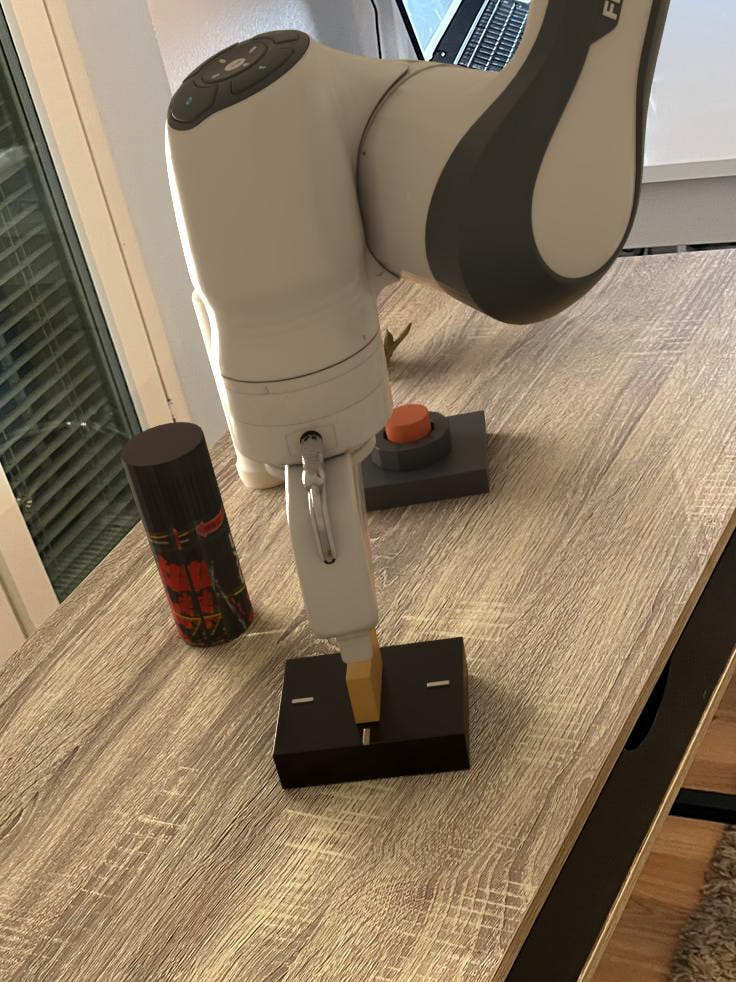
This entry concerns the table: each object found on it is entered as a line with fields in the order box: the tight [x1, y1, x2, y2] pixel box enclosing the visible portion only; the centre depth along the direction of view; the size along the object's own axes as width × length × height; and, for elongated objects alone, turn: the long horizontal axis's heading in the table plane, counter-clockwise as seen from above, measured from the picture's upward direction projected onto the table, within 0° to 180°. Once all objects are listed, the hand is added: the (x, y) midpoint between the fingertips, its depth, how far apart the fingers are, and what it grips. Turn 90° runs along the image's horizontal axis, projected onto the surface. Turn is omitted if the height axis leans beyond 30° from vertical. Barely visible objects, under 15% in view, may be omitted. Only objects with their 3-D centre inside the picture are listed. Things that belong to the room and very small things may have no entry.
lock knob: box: [346, 627, 383, 724], centre depth 81 cm, size 6×2×4 cm, turn 174°
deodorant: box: [119, 421, 255, 648], centre depth 93 cm, size 6×6×15 cm
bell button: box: [385, 403, 431, 444], centre depth 104 cm, size 4×4×2 cm
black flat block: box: [271, 636, 471, 790], centre depth 83 cm, size 12×10×3 cm
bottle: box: [191, 289, 285, 490], centre depth 104 cm, size 5×5×25 cm
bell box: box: [361, 409, 491, 513], centre depth 106 cm, size 12×10×4 cm
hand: (354, 610), depth 78 cm, fingers open, 8 cm apart
